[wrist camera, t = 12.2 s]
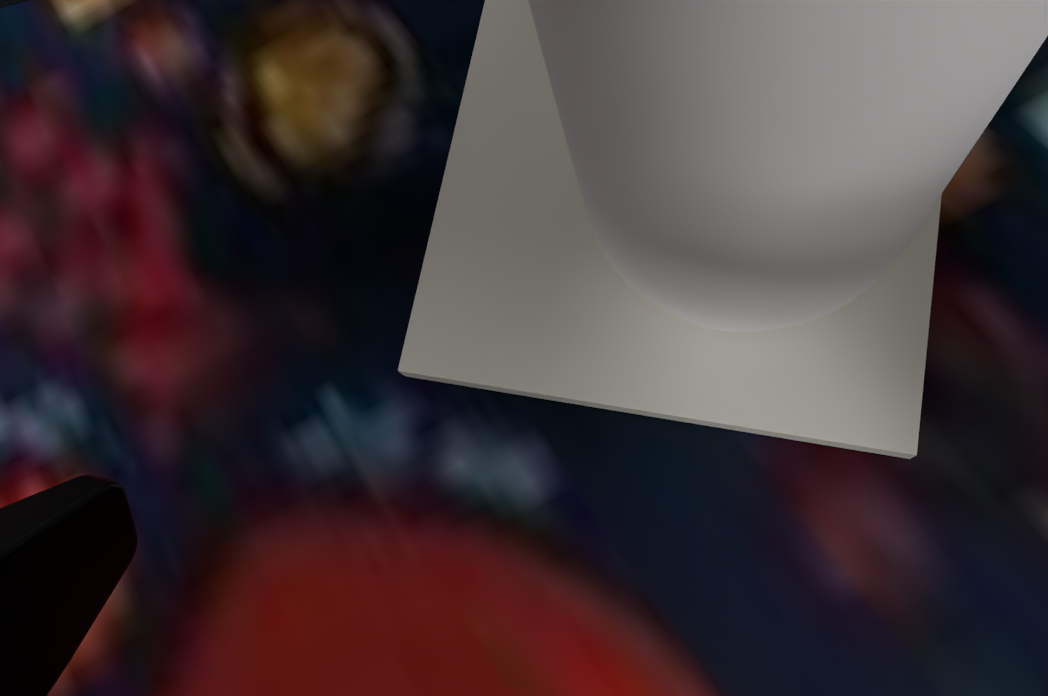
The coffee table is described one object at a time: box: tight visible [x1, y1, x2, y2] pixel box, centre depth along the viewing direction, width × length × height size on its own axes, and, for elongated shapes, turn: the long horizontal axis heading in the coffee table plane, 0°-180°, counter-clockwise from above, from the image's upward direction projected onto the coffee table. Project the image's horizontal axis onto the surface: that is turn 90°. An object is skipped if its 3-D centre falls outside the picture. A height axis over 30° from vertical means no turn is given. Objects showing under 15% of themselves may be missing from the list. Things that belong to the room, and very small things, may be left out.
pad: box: [398, 0, 942, 459], centre depth 18 cm, size 10×10×1 cm
